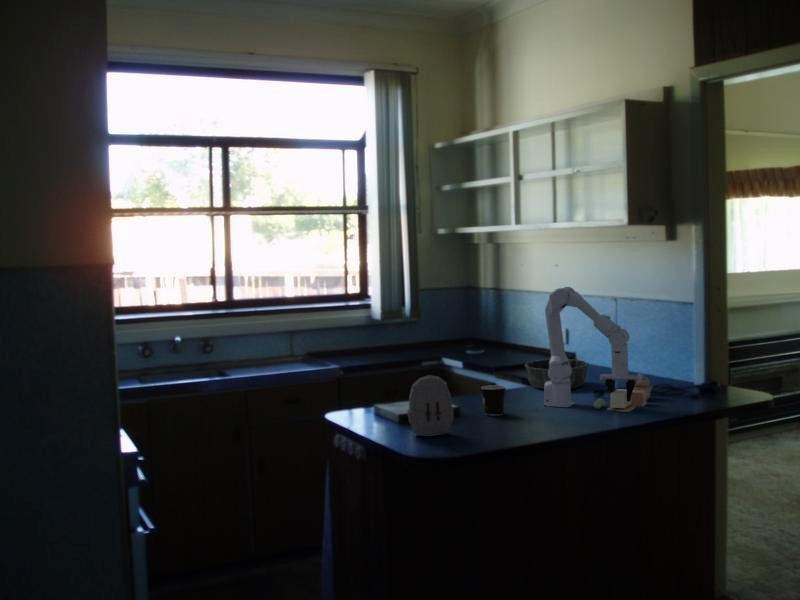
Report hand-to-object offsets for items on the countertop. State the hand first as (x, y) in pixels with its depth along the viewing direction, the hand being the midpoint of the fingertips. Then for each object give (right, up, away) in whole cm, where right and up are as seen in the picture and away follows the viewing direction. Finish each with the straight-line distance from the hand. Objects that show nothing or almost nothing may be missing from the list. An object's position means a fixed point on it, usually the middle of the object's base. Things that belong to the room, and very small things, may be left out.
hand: (621, 400), depth 287 cm
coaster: (0, -3, 0) cm, 3 cm away
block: (0, -2, 0) cm, 2 cm away
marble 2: (-6, -3, +6) cm, 9 cm away
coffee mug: (-45, -5, +2) cm, 45 cm away
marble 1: (-8, -3, +3) cm, 9 cm away
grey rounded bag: (-69, -8, -28) cm, 75 cm away
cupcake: (+12, -2, +16) cm, 20 cm away
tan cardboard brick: (+6, -2, +7) cm, 10 cm away
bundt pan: (-13, -1, +50) cm, 52 cm away
